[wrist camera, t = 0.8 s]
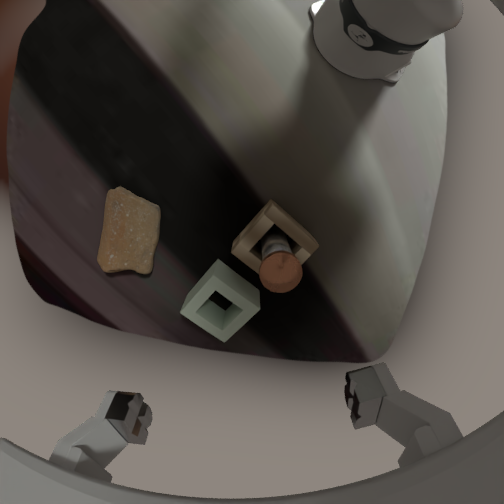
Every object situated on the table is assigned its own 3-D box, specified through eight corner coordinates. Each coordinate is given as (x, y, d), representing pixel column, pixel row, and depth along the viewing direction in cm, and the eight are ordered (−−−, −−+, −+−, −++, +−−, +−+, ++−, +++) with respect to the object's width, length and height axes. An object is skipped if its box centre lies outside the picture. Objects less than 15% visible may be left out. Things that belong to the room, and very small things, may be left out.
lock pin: (272, 216, 42) (279, 244, 30) (295, 236, 43) (311, 271, 31) (251, 239, 44) (250, 276, 32) (274, 258, 45) (281, 300, 33)
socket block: (218, 258, 45) (213, 274, 39) (259, 290, 47) (260, 309, 41) (187, 294, 47) (179, 312, 42) (227, 322, 49) (224, 342, 44)
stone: (99, 259, 46) (91, 266, 43) (113, 180, 40) (104, 183, 37) (149, 280, 47) (143, 289, 44) (171, 200, 42) (165, 205, 39)
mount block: (270, 198, 41) (273, 205, 37) (312, 235, 43) (319, 246, 39) (233, 241, 44) (231, 252, 39) (275, 274, 46) (277, 288, 41)
